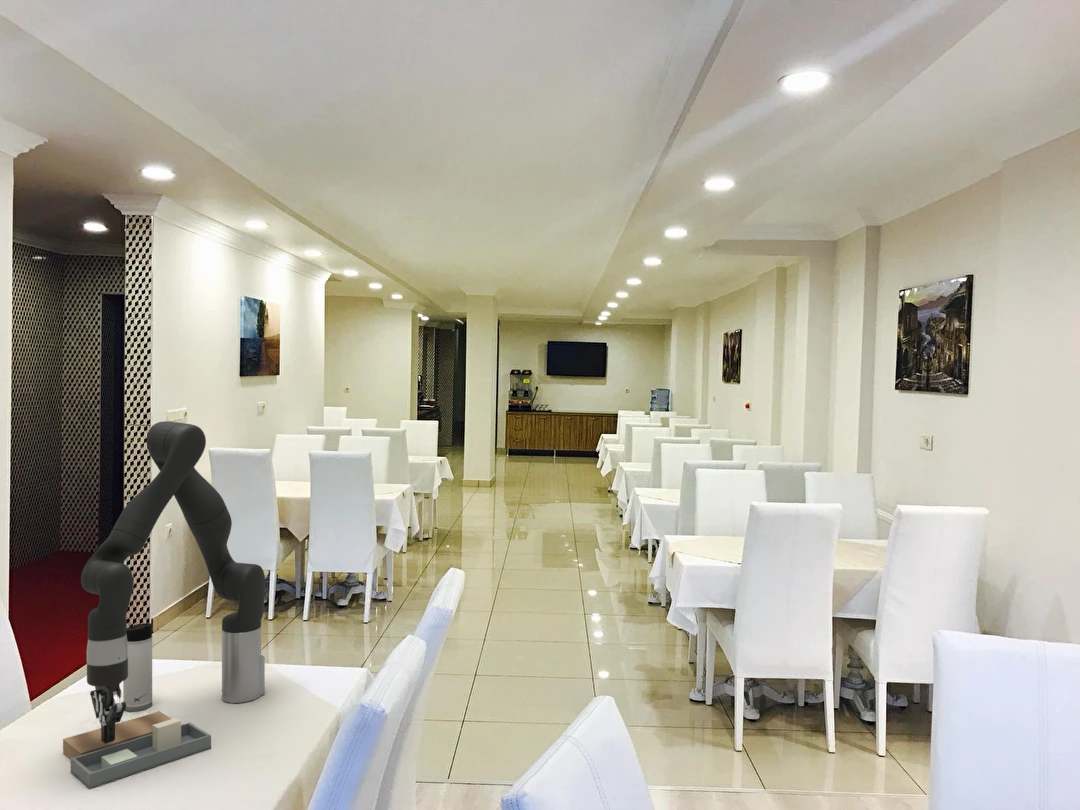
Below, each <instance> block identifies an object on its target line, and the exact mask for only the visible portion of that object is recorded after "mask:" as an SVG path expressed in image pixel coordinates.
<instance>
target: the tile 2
mask: <svg viewBox="0 0 1080 810" xmlns="http://www.w3.org/2000/svg"><path fill="white" fill-rule="evenodd" d="M181 725H182V720H180V719H179V718H177V717H174V718H171V719H170V720H167V721H164V722H161V723H158V724H154V725H152V731H153V749H154V750H156V751H160V750H163V749H166V748H169V747H172V746H176V745H179V744H181Z"/></svg>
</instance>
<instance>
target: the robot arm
mask: <svg viewBox="0 0 1080 810" xmlns="http://www.w3.org/2000/svg"><path fill="white" fill-rule="evenodd" d="M146 434H147V435H146V447H147V451H148V453H149V455H150V458H151V459H152V461H153V462H154V464H155V465H156V467H157V468H158V470H159V472H158V473H157V474H156V476H155V477H154V478H153V480H151V482H149V483H148V484H147V485H146V486H145V487H144V488H143V489H142V490H141V491H140V492H139V493H137V495H135V496H134V497H133V498H132V499H131V500H130V501H129V502H128V503H127V505H125V507H124V509H123V510H122V511H121V513H120V515H119V517H118V518H117V520H116V522H115V524H114V526H113V527H112V530H111V531H110V534H109V536H108V537H107V539H105V540H104V542H102V544H101V545H100V546H99V547H98V548H97V549H96V550H95V552H94V553H93V554H92V555H91V557H90V558H89V559H88V560H87V562H86V563H85V565H84V566H83V569H82V572H81V575H80V584H81V586H82V588H83V590H85V591H86V592H88V593H89V594H92V595H97V596H99V600H98V605H97V607H95V608H93V609H91V610H90V611H89V613H88V616H87V645H86V683H87V684H88V685H89V686H91V687H94V689H93V690H91V691H89V692H90V693H89V695H90V698H91V703H92V706H93V711H94V715H95V718H96V719H98V722H99V724H100V728H101V741H102V742H104V743H105V744H106V743H110V742H113V741H114V740H115V724H117V723H121V721H122V718H123V716H124V713H125V711H126V710H125V708H126V702H123V701H121V698H122V690H121V686H120V684H121V683H123V681H124V680H126V679H127V677H128V642H127V634H126V628H127V613H128V611H129V610H128V609H129V606H130V602H131V597H132V594H133V590H134V576H133V573H132V570H131V568H130V567H129V566H128V565H127V564H124V563H125V562H126V559H127V558H129V557H130V556H134V555H138V554H139V553H141V551H142V550H143V549H144V547H145V544H146V543H147V541H148V539H149V538H150V535H151V533H152V531H153V530H154V527H155V525H156V523H157V522H158V520H159V518H160V516H161V514H162V513H163V511H164V509H165V508H166V506H167V505H168V504H169V502H170V501H171V499H172V498H173V497H174V498H175V500H176V502H177V504H178V506H179V508H180V510H181V512H182V514H183V517H184V520H185V522H186V523H187V526H188V528H189V530H190V532H191V534H192V535H193V537H194V539H195V543H197V546H198V548H199V551H200V554H201V555H202V558H203V559H204V563H205V565H206V568H207V571H208V574H209V577H210V580H211V584H212V586H213V589H214V591H215V593H216V594H217V596H218V597H219V598H221V599H223V600H228V601H235V602H238V609H237V611H236V612H235V611H234V612H232V613H229V614H227V615H225V616H224V617H223V618H222V620H221V699H222V701H223V702H226V703H230V704H239V703H247V702H250V701H254V700H256V699H258V698H260V697H261V696H264V695H265V694H266V692H265V691H266V690H265V689H266V688H265V687H266V685H265V684H266V683H265V681H266V680H265V677H266V674H265V671H266V667H265V665H266V664H265V663H266V661H265V659H266V657H265V656H264V655H262V621H263V620H262V619H263V615H264V611H265V595H266V576H265V575H266V574H265V572H264V569H263V567H262V566H261V565H259V564H255V563H246V562H245V563H243V562H236V561H235V560H234V559H233V557H232V556H231V554H230V551H229V549H228V540H229V538H230V535H231V531H232V525H233V523H232V517H231V514H230V512H229V509H228V508H227V505H226V503H225V500H224V499H223V497H222V494H220V493H219V492H218V491H217V489H216V488H215V487H214V486H213V485H212V484H211V483H209V481H208V480H206V479H205V478H204V477H203V475H202V474H201V473H200V472H199V471H198V470H197V469H196V468H195V466H196V465H197V463H199V461H200V459H201V457H202V456H203V454H204V452H205V449H206V445H207V444H206V442H207V440H206V434H205V432H204V430H203V429H202V428H200V427H199V426H198V425H195V424H191V423H187V422H186V423H184V422H177V421H169V420H167V421H166V420H165V421H159V422H158V421H157V422H156V423H154V424H153V425H152V426H150V428H149V430H148V432H147V433H146Z"/></svg>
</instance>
